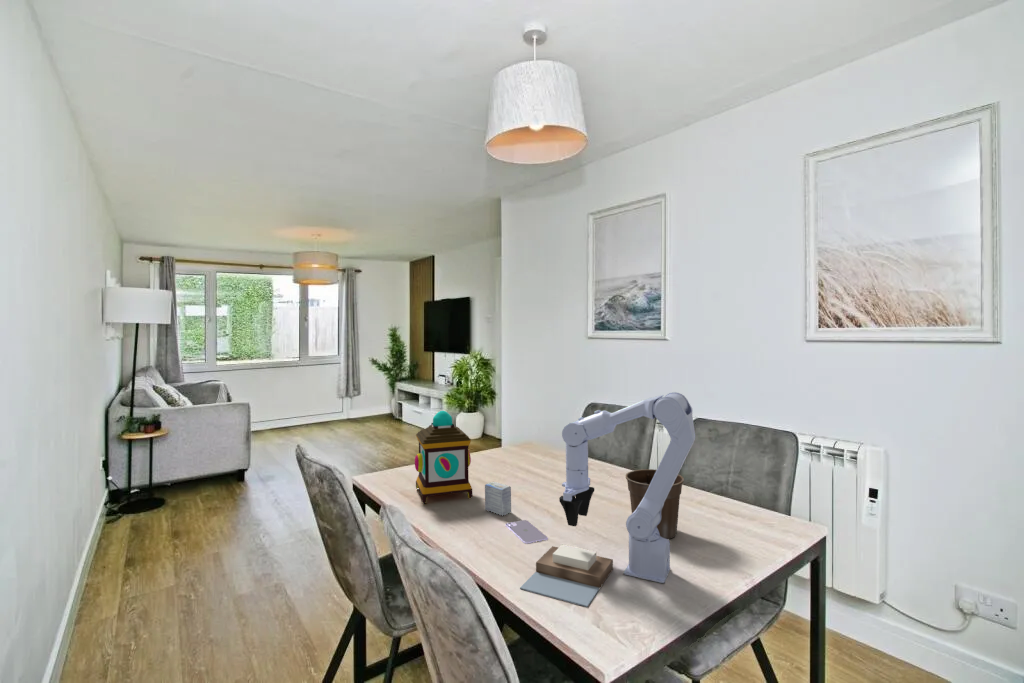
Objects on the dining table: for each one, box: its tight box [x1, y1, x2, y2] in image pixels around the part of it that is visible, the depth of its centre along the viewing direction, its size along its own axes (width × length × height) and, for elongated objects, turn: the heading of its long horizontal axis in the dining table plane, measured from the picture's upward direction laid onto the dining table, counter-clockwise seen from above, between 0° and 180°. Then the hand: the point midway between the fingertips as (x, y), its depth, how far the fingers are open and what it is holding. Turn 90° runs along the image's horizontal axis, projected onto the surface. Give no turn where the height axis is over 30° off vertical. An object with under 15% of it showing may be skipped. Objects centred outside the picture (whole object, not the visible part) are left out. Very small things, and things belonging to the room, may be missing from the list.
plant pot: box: [624, 468, 685, 540], centre depth 143 cm, size 16×16×16 cm
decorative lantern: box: [414, 410, 473, 504], centre depth 177 cm, size 20×20×30 cm
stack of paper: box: [484, 481, 512, 517], centre depth 160 cm, size 8×4×9 cm, turn 47°
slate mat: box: [519, 571, 601, 608], centre depth 112 cm, size 16×8×1 cm, turn 62°
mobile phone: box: [504, 519, 548, 545], centre depth 144 cm, size 8×1×15 cm
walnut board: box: [535, 545, 614, 589], centre depth 121 cm, size 16×10×2 cm, turn 62°
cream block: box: [553, 544, 597, 570], centre depth 121 cm, size 9×6×2 cm, turn 62°
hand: (577, 520), depth 128 cm, fingers open, 7 cm apart
